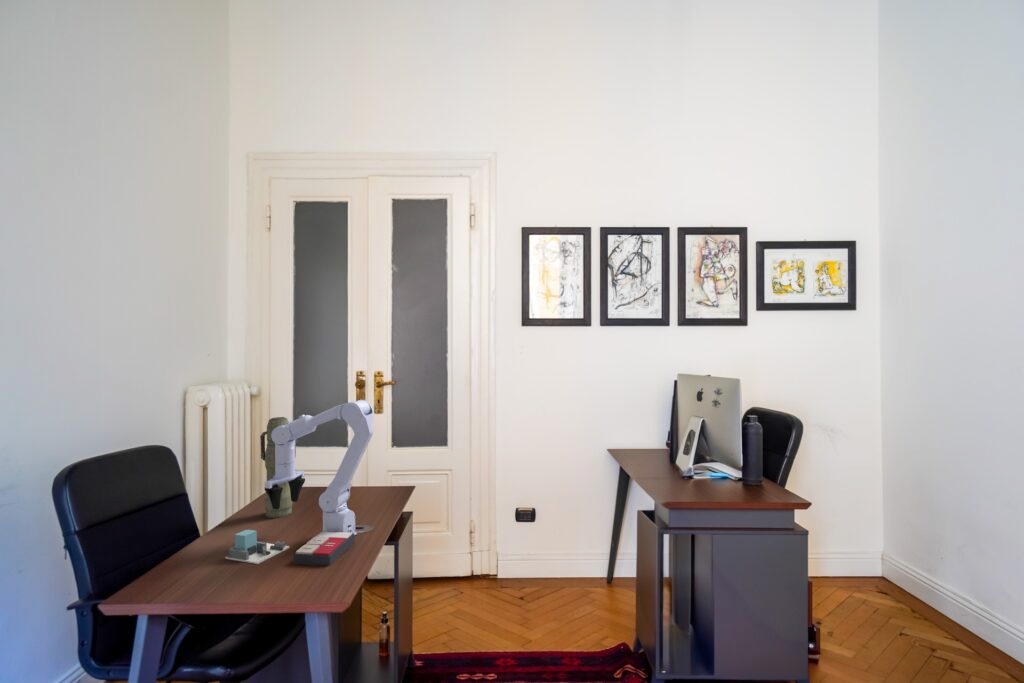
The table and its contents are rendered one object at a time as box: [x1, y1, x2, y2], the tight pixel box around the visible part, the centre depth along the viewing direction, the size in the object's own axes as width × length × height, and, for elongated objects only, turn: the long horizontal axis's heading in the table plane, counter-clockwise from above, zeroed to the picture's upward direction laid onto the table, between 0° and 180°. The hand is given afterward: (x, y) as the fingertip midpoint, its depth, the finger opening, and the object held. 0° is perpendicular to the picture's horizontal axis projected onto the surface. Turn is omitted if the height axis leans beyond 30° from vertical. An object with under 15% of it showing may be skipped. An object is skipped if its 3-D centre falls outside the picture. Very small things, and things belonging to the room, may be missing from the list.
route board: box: [225, 540, 291, 565], centre depth 143 cm, size 12×12×2 cm
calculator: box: [292, 530, 356, 566], centre depth 142 cm, size 11×4×15 cm
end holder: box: [226, 541, 268, 560], centre depth 141 cm, size 7×7×3 cm
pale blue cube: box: [234, 529, 258, 555], centre depth 142 cm, size 5×4×6 cm
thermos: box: [259, 416, 297, 519], centre depth 177 cm, size 9×12×35 cm
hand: (285, 504), depth 156 cm, fingers open, 7 cm apart
